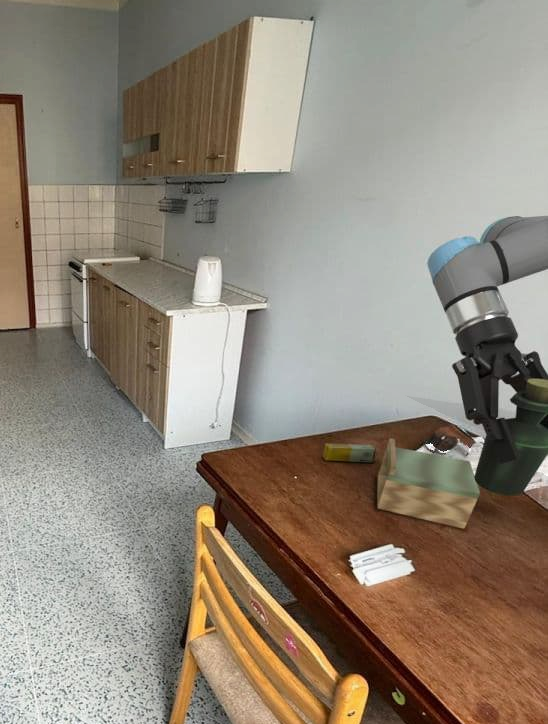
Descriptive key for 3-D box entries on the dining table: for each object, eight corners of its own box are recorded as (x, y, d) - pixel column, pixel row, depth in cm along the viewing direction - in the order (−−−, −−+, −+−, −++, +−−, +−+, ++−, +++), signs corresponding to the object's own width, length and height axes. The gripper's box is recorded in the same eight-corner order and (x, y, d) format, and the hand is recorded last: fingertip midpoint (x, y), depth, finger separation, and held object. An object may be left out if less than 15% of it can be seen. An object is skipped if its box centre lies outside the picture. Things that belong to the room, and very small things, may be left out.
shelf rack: (455, 494, 109) (472, 453, 103) (464, 528, 98) (484, 484, 93) (377, 477, 115) (389, 438, 110) (377, 508, 104) (391, 466, 99)
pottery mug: (423, 440, 133) (448, 418, 128) (453, 463, 129) (480, 442, 125) (419, 446, 123) (446, 423, 119) (451, 472, 120) (480, 449, 116)
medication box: (369, 458, 123) (372, 444, 122) (373, 463, 121) (377, 448, 119) (321, 456, 124) (325, 442, 123) (325, 460, 122) (328, 446, 120)
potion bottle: (543, 498, 74) (598, 392, 66) (494, 501, 74) (543, 395, 65) (500, 470, 82) (544, 372, 73) (455, 473, 81) (495, 375, 73)
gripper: (514, 333, 83) (568, 457, 76) (408, 341, 80) (454, 471, 74) (558, 309, 76) (621, 444, 69) (443, 317, 73) (497, 458, 66)
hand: (535, 458), depth 71 cm, fingers closed on potion bottle, 8 cm apart
